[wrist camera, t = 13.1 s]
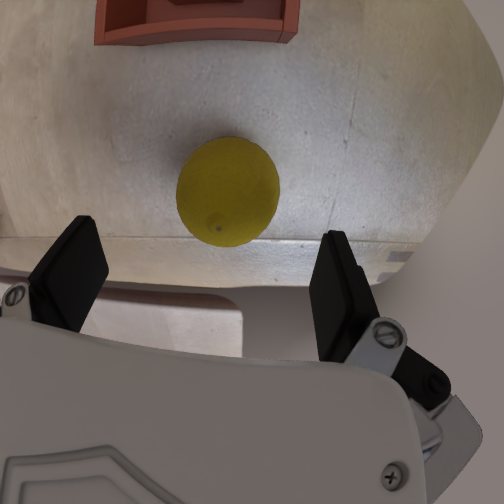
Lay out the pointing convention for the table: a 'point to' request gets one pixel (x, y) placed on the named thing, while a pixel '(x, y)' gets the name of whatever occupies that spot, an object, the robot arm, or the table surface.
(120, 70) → the table surface
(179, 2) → the clay block
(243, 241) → the lemon
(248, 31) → the clay bin
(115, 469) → the robot arm
